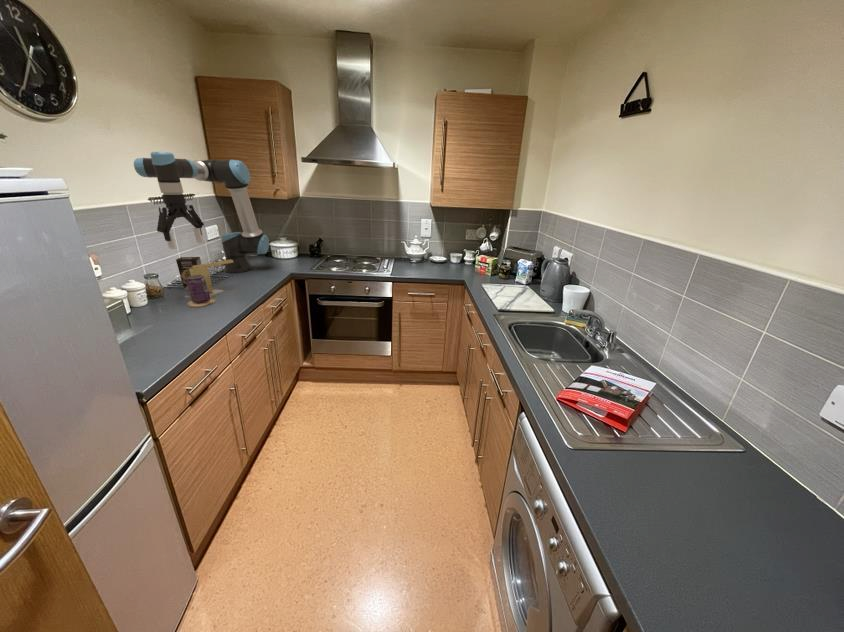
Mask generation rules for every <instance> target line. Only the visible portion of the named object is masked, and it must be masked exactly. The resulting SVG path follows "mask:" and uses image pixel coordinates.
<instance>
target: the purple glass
mask: <svg viewBox="0 0 844 632" xmlns="http://www.w3.org/2000/svg"><path fill="white" fill-rule="evenodd" d="M187 279H188V280H187V284H188V287H189V290H188V291H189V294H191V298H190V299H191V301H192V302H195V303H204V302H207V301H208V300H210V295H209V291H208V288H207V284H206V280H205V278H204V277H203V275H193V276H189V277H187Z"/></svg>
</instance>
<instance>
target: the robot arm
mask: <svg viewBox="0 0 844 632" xmlns="http://www.w3.org/2000/svg"><path fill="white" fill-rule="evenodd" d="M133 166H134V167H133V168H134V171H136V173H137V174H138V176H140V177H143V178H156V179H157V182H158V186H159V190H160V193H161V194H162V195H161V197H162V198H161V199H162V200H163V203H164V204H165V207H163V206H160V207H159V206H158V212H159V213H158V220H157V227H156V231H157V232H158V233H162V234H163V237H164V240H165V242H167V245H168V248H169V249H170V250H176V249H177V247H176V243H175V239H174V236H173V233H172V232H171V229H172V227H173V224H174V223H175V220H176V219H178V218H179V219H180V218H184V219H185V220H186V221H187V222H188V223H189V224H191V225H192V227H193V228H192V229H193V233H194V236H195V241H196V243H199V244H203V243H204V240H203V236H202V235H203V233H202V228H203V226H205V224H204V222H203V221H202V220H201V218H200V216H199V215H198V213H197V212H196V211H195V208H194V206H193V204H186V203H187V201H186V197H185V194H183V193H184V190H183V185H182V182H181V179H195V180H196V181H200V182H201V181H202V182H207V183H208V182H210V183H214V184H215V183H216V184H217V183H218V184H223V185H224V187H225V189H227V190H228V191H229V193H230V195H231V199H232V201H233V204H234V208H235V211H236V214H237V217H238V220H239V222H240V223H239V224H240V226H241V229H242V232H241V231H236V232H235V231H234V232H230V233H225V234H222V235H221V237H220V238H221V244H222V249H223V253H224V256H225V260H233V263H227V264H224V271H225V273H229V272H230V273H231V274H233V273H234V274H235V273H236V274H237V273H244V272H248V271H251V270H252V267H253V266H252V265H251V263H250V261H249V259H248V257H247V254H248V255H265V254H267V252H268V251H269V248H270V240H269V237H268V235H266V234H264V232H263V231H262V229H260V227H259V225H258V221H257V218H256V215H255V212H254V209H253V205H252V203H251V199H250V196H249V193H248V187H249V183H251V174H250V170H249V168H248V167H247V165H246V163H244V162H243V161H241V160H238V159H204V160H193V161H192V160H190V159H186V158H176V157H175V155H174V154H173V152H169V151H152V152H150V157H138V158H135V159H134V161H133Z"/></svg>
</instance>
